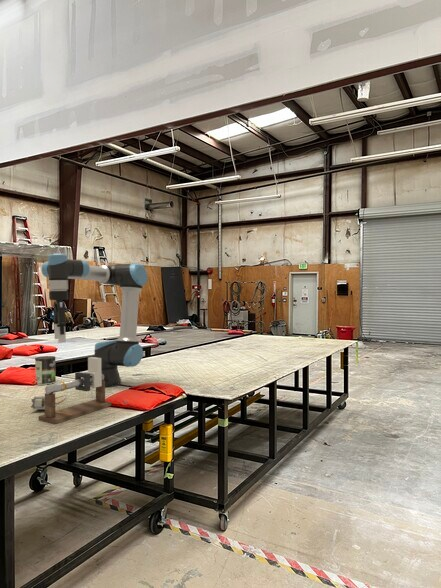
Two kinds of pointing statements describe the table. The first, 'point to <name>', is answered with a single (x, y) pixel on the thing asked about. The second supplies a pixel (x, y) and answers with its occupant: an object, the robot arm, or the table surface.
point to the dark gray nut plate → (86, 381)
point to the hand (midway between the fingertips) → (60, 340)
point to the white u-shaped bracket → (95, 371)
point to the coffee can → (45, 370)
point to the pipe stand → (73, 407)
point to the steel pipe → (67, 385)
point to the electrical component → (41, 402)
